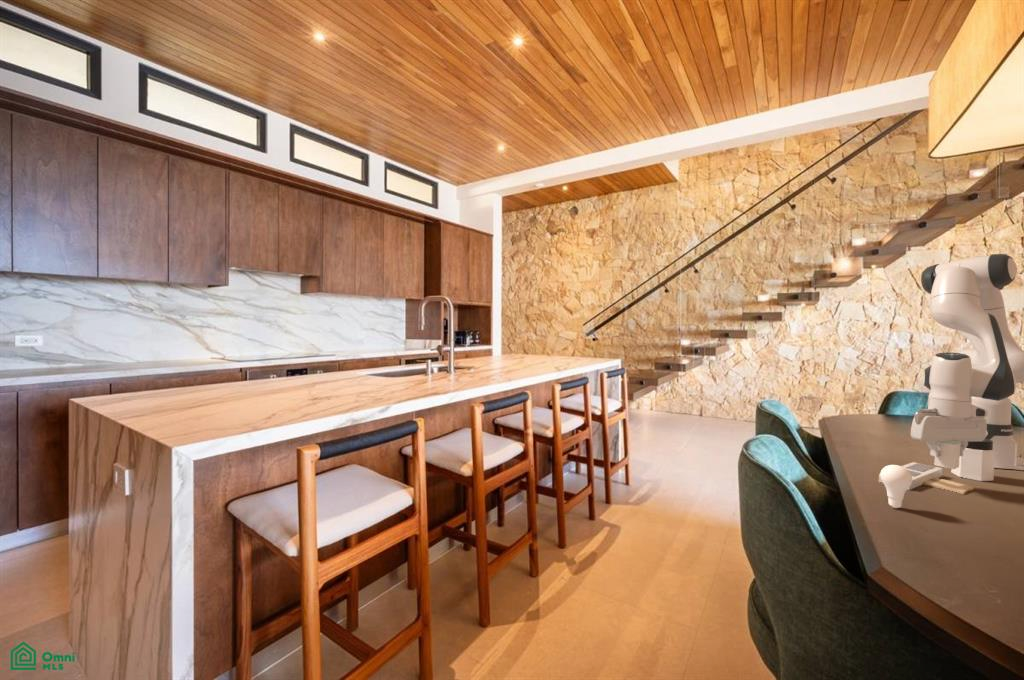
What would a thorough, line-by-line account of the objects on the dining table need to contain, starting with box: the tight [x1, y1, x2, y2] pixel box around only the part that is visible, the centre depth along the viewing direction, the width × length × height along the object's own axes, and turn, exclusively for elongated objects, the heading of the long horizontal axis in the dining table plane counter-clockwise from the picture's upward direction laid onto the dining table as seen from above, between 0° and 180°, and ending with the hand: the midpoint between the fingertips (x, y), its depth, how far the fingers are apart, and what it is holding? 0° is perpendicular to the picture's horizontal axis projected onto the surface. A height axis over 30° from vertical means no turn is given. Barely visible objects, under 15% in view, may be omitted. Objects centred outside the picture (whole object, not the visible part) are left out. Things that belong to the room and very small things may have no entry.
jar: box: [950, 438, 995, 482], centre depth 133 cm, size 9×8×12 cm
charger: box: [933, 440, 961, 469], centre depth 125 cm, size 4×4×8 cm
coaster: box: [922, 477, 976, 495], centre depth 125 cm, size 9×9×1 cm
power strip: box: [878, 461, 943, 491], centre depth 132 cm, size 29×7×3 cm, turn 119°
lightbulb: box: [879, 464, 912, 509], centre depth 109 cm, size 6×6×11 cm
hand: (946, 456), depth 125 cm, fingers closed on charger, 5 cm apart
